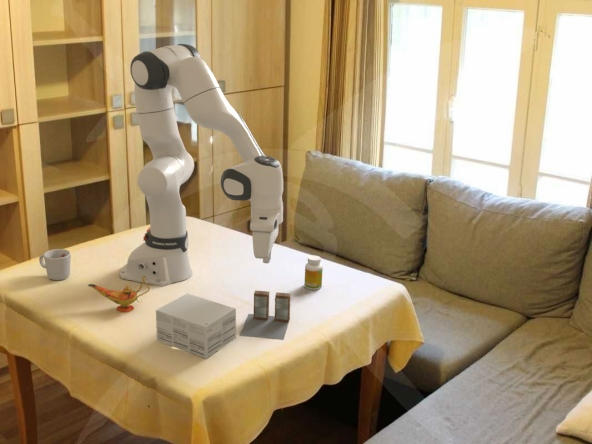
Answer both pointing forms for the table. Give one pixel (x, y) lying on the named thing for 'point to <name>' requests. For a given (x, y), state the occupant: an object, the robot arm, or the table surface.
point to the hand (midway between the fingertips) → (266, 261)
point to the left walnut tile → (261, 305)
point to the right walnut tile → (282, 307)
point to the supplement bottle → (313, 273)
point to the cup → (56, 263)
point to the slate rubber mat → (264, 328)
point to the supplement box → (196, 325)
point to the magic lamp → (121, 296)
